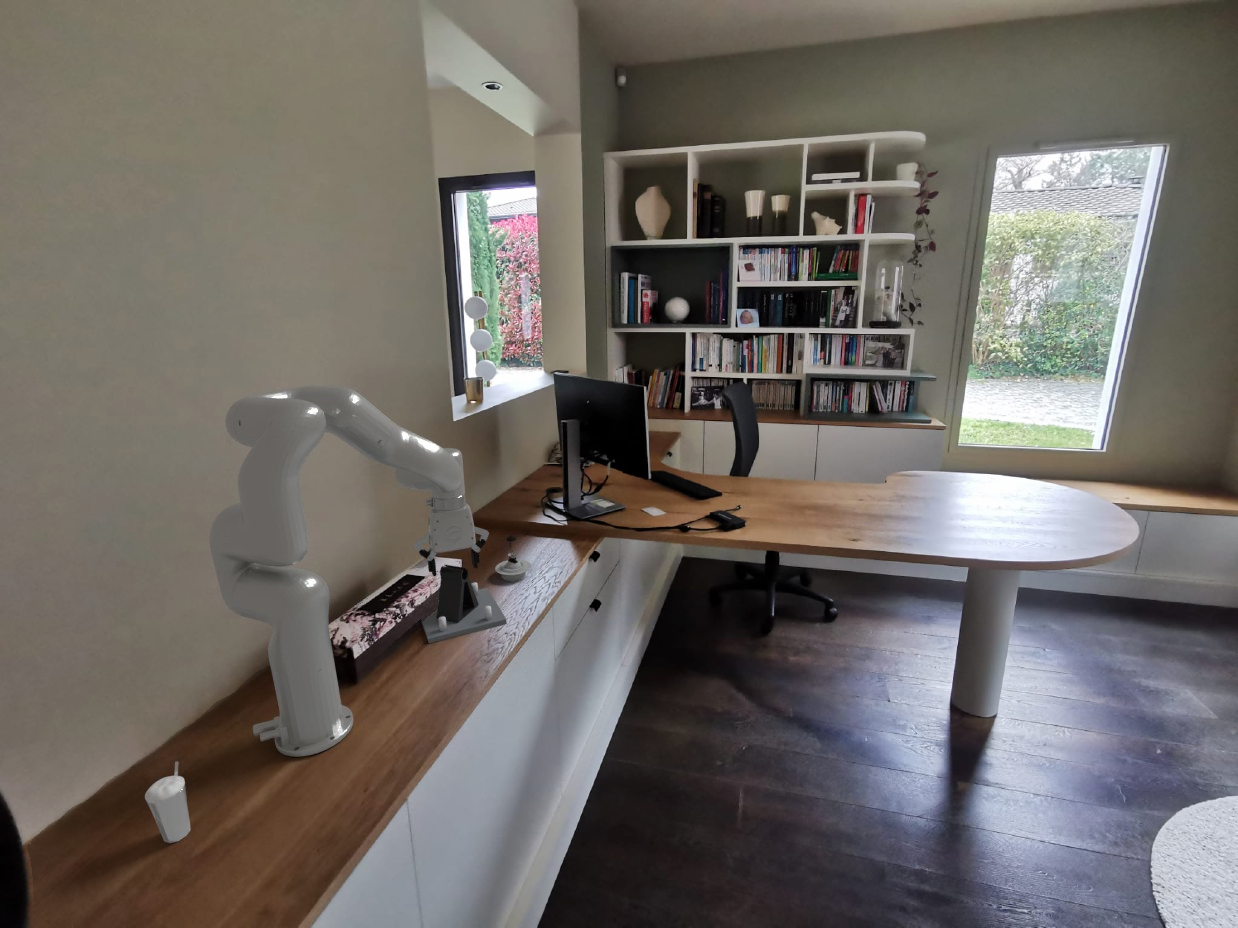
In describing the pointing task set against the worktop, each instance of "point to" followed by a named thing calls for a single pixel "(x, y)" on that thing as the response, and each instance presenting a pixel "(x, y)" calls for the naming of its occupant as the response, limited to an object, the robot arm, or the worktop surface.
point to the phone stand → (455, 594)
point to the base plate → (466, 619)
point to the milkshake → (170, 807)
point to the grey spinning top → (513, 566)
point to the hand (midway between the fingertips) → (454, 570)
